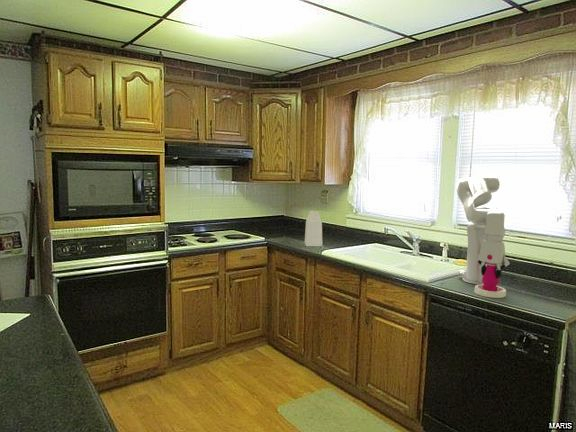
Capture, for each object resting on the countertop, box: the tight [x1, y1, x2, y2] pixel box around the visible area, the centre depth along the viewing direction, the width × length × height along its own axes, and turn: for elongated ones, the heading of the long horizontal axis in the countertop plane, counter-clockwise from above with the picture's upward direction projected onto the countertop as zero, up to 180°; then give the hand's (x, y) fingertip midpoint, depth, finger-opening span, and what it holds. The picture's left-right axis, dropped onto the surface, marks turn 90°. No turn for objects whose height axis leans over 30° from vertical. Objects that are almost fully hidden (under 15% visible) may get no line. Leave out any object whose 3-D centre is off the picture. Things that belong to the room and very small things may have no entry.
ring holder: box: [473, 284, 507, 299], centre depth 193 cm, size 13×13×3 cm
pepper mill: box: [482, 255, 500, 292], centre depth 191 cm, size 7×7×20 cm
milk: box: [304, 210, 323, 247], centre depth 302 cm, size 12×12×26 cm
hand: (490, 276), depth 192 cm, fingers closed on pepper mill, 5 cm apart
